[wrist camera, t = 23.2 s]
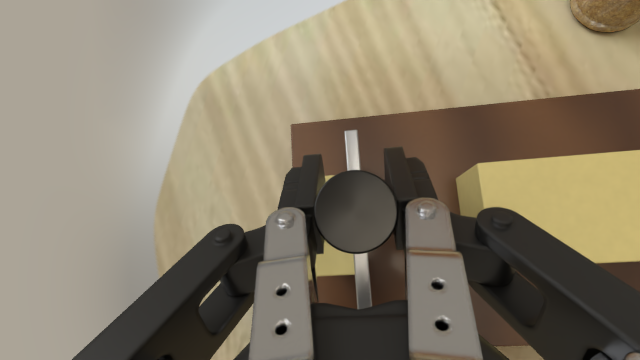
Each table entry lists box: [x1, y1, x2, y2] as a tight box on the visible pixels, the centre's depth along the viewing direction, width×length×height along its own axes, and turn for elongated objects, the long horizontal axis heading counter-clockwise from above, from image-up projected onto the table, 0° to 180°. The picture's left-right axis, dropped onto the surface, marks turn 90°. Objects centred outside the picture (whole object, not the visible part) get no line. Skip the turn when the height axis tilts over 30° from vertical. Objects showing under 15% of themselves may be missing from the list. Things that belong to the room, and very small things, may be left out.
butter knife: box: [314, 130, 398, 309], centre depth 15 cm, size 8×3×10 cm, turn 3°
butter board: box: [291, 89, 640, 346], centre depth 20 cm, size 22×14×2 cm, turn 93°
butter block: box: [456, 150, 640, 263], centre depth 17 cm, size 10×5×4 cm, turn 93°
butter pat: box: [315, 175, 355, 276], centre depth 19 cm, size 2×5×4 cm, turn 3°
